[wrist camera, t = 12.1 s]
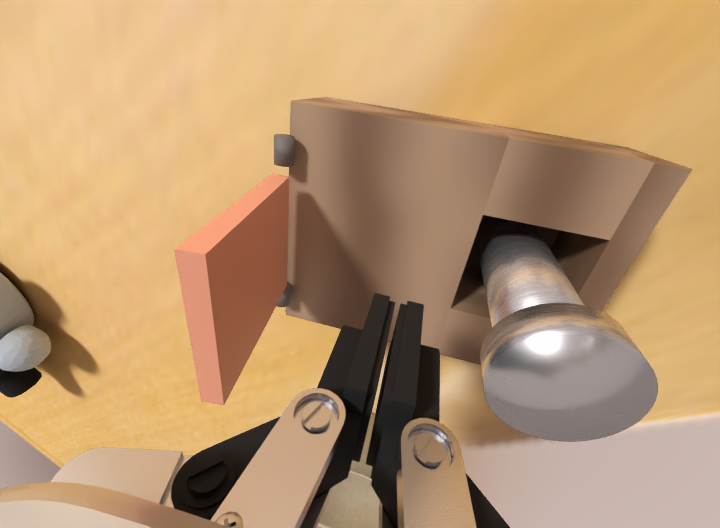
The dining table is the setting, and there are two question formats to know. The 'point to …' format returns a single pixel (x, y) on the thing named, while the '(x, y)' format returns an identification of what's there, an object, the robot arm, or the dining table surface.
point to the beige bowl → (354, 496)
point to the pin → (553, 346)
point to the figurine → (19, 342)
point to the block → (450, 213)
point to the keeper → (234, 283)
